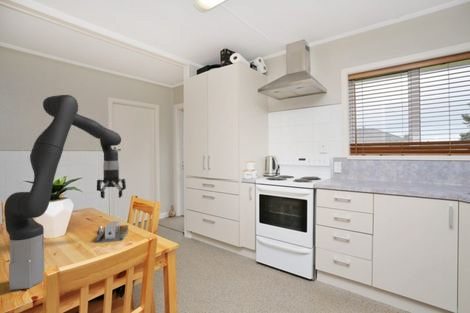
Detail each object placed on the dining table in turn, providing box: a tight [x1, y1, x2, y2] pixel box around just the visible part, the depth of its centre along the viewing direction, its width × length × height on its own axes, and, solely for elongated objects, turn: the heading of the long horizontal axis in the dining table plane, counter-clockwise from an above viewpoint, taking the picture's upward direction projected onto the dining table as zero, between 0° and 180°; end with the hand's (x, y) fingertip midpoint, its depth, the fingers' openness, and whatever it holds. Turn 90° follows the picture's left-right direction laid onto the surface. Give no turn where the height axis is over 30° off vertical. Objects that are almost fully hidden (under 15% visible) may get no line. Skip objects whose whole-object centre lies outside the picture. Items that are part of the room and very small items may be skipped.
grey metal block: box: [104, 220, 121, 240], centre depth 127 cm, size 10×5×7 cm, turn 13°
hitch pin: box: [97, 226, 104, 235], centre depth 134 cm, size 7×3×3 cm, turn 33°
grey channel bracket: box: [94, 224, 129, 244], centre depth 127 cm, size 14×13×4 cm
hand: (111, 197), depth 127 cm, fingers open, 8 cm apart
